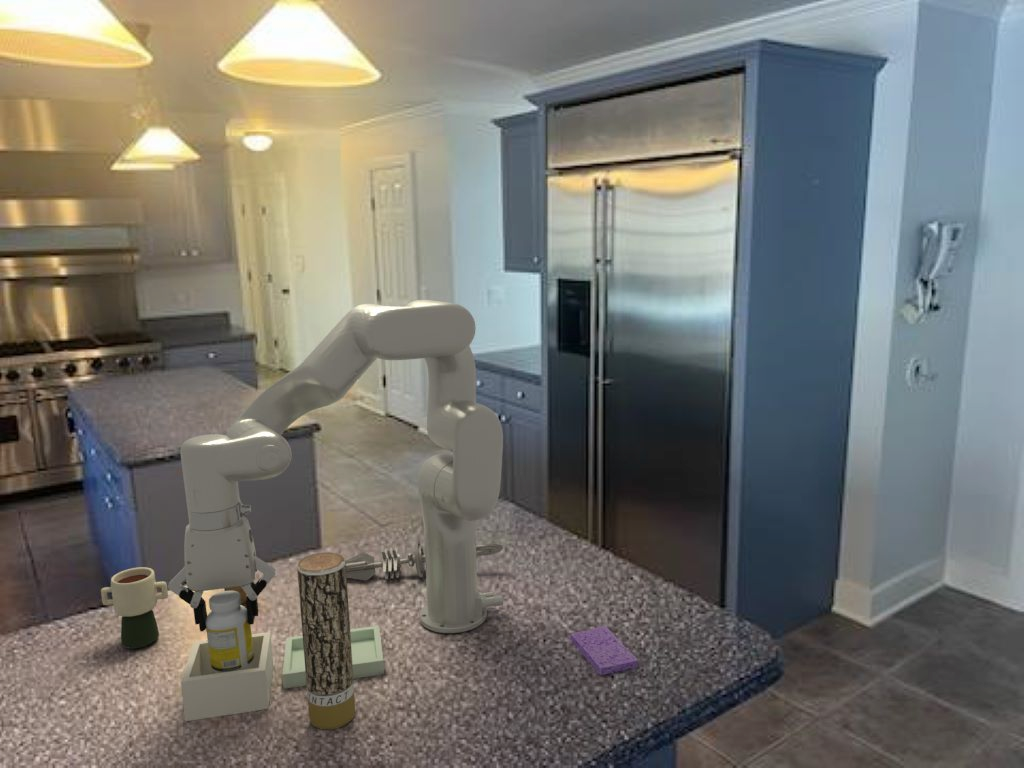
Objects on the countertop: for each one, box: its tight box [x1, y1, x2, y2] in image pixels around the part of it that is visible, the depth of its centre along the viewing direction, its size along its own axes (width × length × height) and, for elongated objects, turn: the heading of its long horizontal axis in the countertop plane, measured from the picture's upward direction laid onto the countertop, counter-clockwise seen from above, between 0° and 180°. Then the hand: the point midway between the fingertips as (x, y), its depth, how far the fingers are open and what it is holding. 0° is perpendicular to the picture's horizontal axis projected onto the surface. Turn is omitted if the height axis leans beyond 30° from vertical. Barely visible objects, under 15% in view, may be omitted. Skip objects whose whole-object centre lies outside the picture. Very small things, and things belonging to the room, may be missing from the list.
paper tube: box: [296, 552, 356, 730], centre depth 114 cm, size 7×7×25 cm
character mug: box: [100, 566, 169, 650], centre depth 138 cm, size 11×7×13 cm, turn 102°
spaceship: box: [345, 539, 504, 581], centre depth 164 cm, size 8×35×8 cm
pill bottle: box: [205, 590, 254, 673], centre depth 122 cm, size 6×6×12 cm
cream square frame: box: [180, 631, 275, 722], centre depth 123 cm, size 12×12×6 cm
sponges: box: [569, 625, 639, 676], centre depth 133 cm, size 7×13×2 cm, turn 19°
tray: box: [282, 625, 385, 690], centre depth 131 cm, size 16×12×2 cm
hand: (228, 622), depth 121 cm, fingers closed on pill bottle, 6 cm apart
